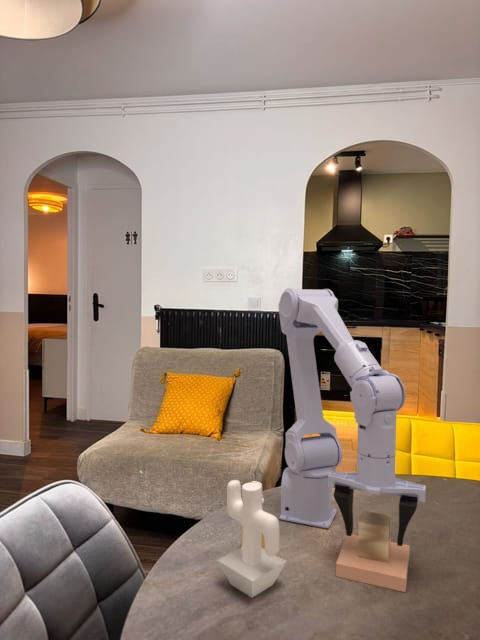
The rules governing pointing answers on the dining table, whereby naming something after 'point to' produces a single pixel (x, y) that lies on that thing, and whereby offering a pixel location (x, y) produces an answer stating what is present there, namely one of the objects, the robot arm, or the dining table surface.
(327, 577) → the dining table surface
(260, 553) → the figurine
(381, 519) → the beech block
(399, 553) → the riser
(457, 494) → the dining table surface
